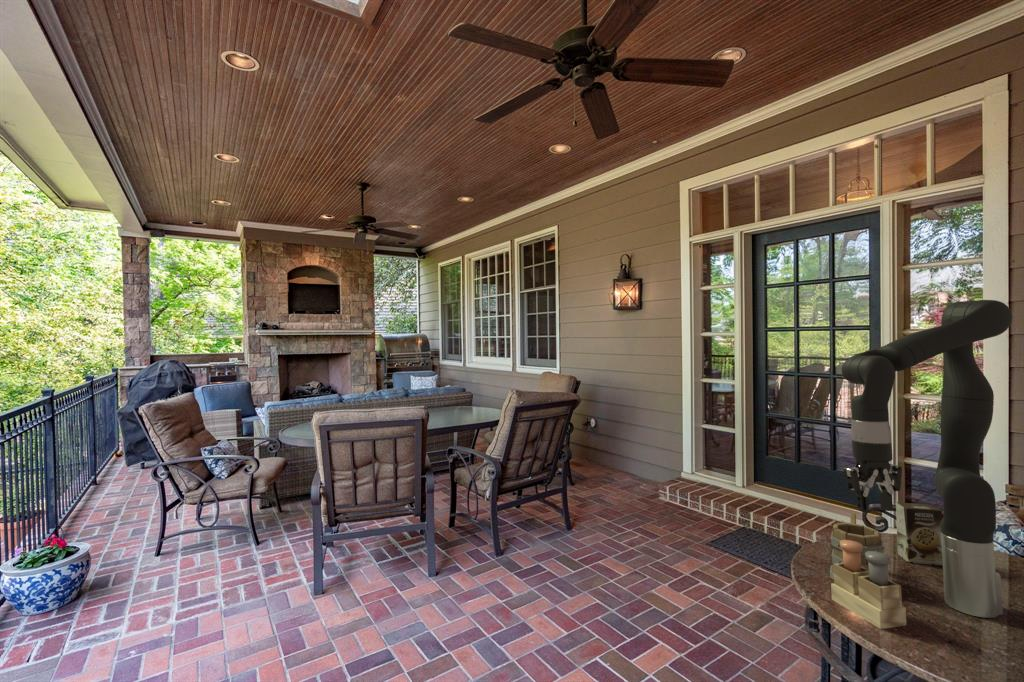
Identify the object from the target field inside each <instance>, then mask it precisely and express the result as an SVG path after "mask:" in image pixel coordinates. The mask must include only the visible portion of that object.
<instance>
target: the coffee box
mask: <svg viewBox="0 0 1024 682" xmlns="http://www.w3.org/2000/svg"><path fill="white" fill-rule="evenodd" d="M895 510H896V512H895V513H896V514H895V516H896V540H897V541H896V542H897V545H896V546H897V554H898V555H899V556H900V557H901V558H902V557H903V558H902V559H903V560H905V561H906V562H907V561H908V562H907V563H910V562H913V563H912V564H922V565H932V564H934V566H943V561H942V544H941V529H940V522H941V520H943V510H941V509H940V508H937V507H935V506H933V505H932V504H928V503H927V504H926V503H925V504H924V503H912V502H911V503H909V502H900V501H899V502H898V501H897V502H896V501H895Z"/></svg>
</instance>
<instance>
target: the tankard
mask: <svg viewBox="0 0 1024 682" xmlns="http://www.w3.org/2000/svg"><path fill="white" fill-rule="evenodd" d="M849 517H850V518H849V519H850V522H839V523H834V524H833V527H832V531H831V536H830V544H831V546H833V548H832V552H831V555H830V556H831V563H832V564H830V570H829V578H830V579H831V580H833V581H834V572H833V564H836V563H843V549H842V548H841V547H840V541H841V540H851V541H856V542H859V543H861V544H862V545H863V551H862V552H860V553H861V566H862V567H864V568H866V569H868V570H869V565H868V560H866V558H865V552H867V551H875V552H880V553H884V549H885V547H884V545H883V540H881V538H880V531H879V530H877V529H874V528H872V527H869V526H867V525H863V524H857V514H856V513H853V512H850V514H849Z"/></svg>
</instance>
